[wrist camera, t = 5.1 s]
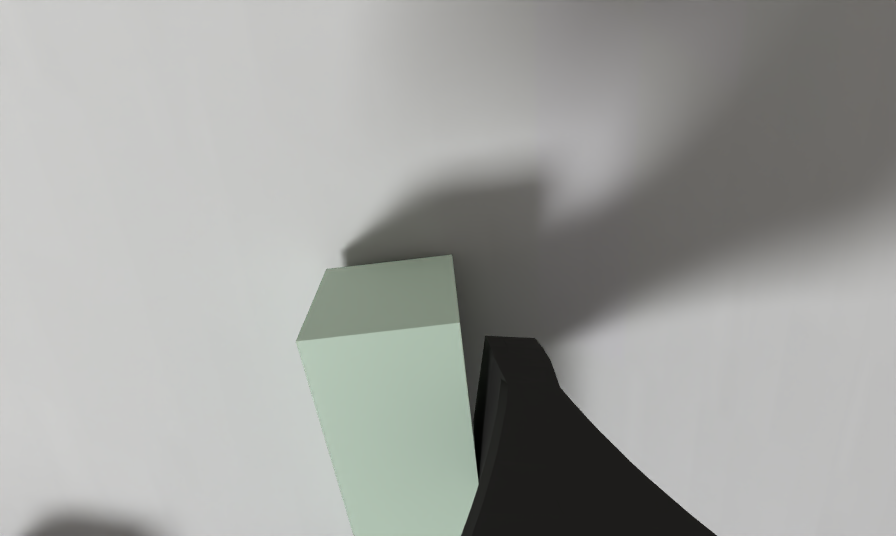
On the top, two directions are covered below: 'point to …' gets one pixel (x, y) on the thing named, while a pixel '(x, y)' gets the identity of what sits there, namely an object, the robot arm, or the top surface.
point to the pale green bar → (393, 395)
